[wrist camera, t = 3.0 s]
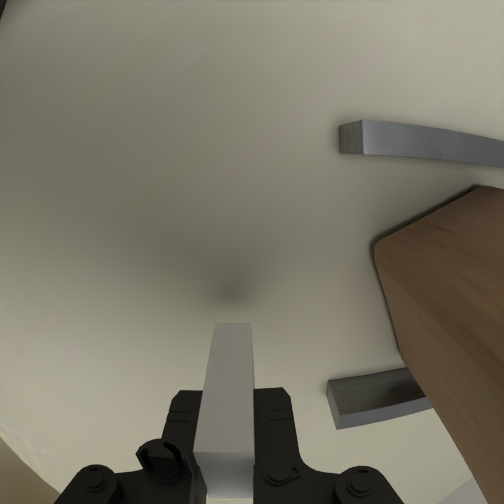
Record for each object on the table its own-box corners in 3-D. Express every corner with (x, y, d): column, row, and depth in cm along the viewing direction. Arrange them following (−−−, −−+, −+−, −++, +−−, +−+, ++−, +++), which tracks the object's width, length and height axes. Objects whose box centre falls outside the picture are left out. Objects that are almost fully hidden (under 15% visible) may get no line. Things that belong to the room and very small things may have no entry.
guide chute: (338, 123, 15) (366, 115, 11) (544, 155, 15) (578, 161, 11) (326, 396, 21) (337, 436, 17) (506, 352, 21) (528, 374, 17)
